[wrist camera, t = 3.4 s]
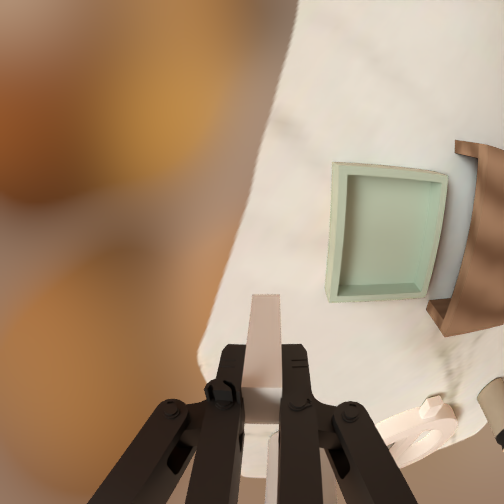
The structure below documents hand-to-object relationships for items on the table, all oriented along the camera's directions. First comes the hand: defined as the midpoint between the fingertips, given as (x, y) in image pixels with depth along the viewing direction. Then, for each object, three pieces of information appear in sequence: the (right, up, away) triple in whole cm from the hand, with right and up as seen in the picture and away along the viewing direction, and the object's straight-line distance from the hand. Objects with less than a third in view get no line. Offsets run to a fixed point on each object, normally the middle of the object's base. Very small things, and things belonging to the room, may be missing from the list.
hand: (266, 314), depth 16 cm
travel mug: (+55, -29, +24) cm, 67 cm away
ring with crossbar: (+34, -40, +31) cm, 61 cm away
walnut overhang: (+28, +6, +11) cm, 31 cm away
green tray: (+13, +6, +12) cm, 19 cm away
